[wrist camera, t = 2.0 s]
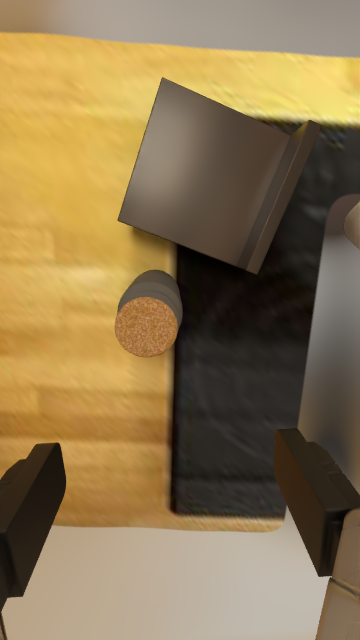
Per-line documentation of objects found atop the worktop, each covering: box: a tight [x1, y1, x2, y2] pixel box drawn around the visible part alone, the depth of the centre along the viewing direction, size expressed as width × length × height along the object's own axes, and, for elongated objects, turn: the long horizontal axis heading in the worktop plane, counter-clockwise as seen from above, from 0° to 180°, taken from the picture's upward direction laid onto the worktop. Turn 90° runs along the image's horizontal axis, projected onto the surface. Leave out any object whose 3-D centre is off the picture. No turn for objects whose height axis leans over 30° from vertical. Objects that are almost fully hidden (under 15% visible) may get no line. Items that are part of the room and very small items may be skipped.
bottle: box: [115, 270, 183, 357], centre depth 30 cm, size 6×6×15 cm
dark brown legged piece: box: [118, 78, 322, 275], centre depth 30 cm, size 14×13×9 cm
